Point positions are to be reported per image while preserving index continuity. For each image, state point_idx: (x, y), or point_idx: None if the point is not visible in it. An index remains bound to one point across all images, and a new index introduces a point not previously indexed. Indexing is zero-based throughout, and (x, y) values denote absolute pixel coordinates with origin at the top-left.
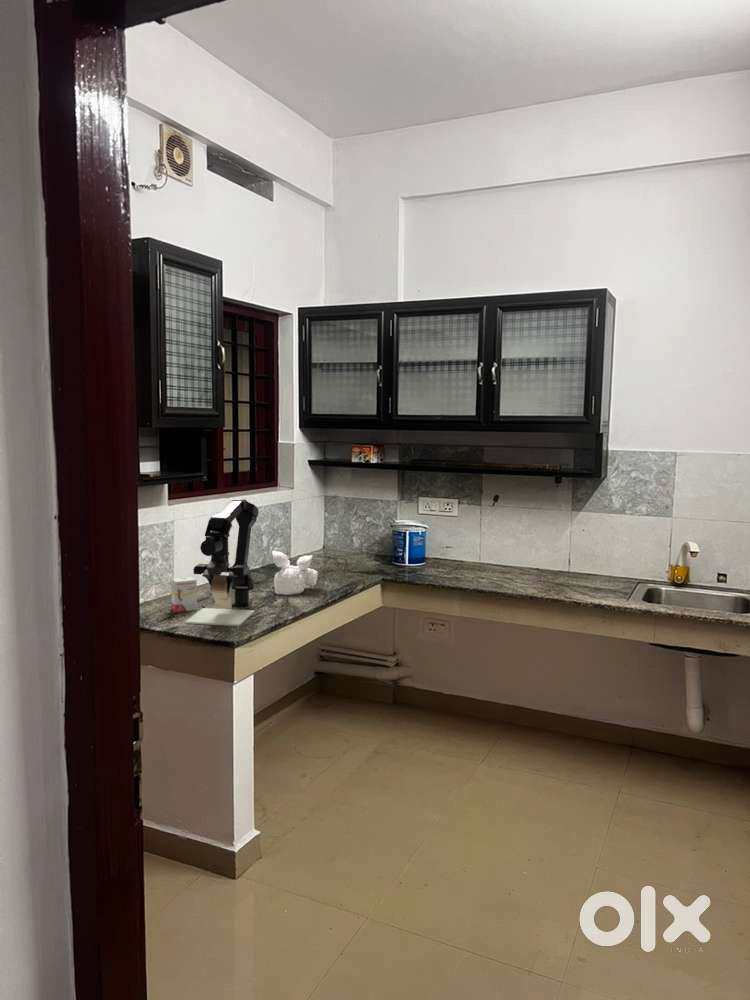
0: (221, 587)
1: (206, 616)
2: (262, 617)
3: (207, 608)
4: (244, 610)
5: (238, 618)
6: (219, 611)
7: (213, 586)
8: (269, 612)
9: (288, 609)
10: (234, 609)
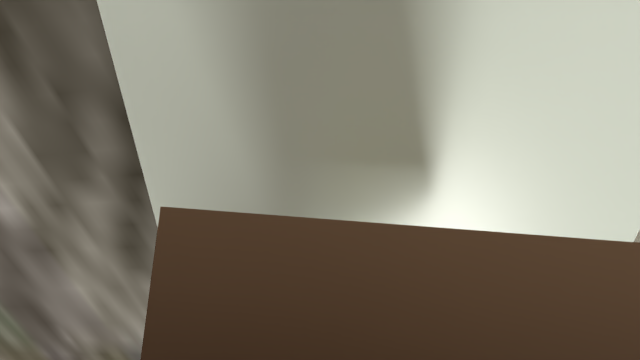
0: (232, 268)
1: (535, 89)
2: (42, 152)
3: None
4: None
5: (178, 52)
6: None
7: (546, 328)
8: (76, 267)
9: (12, 321)
10: None
